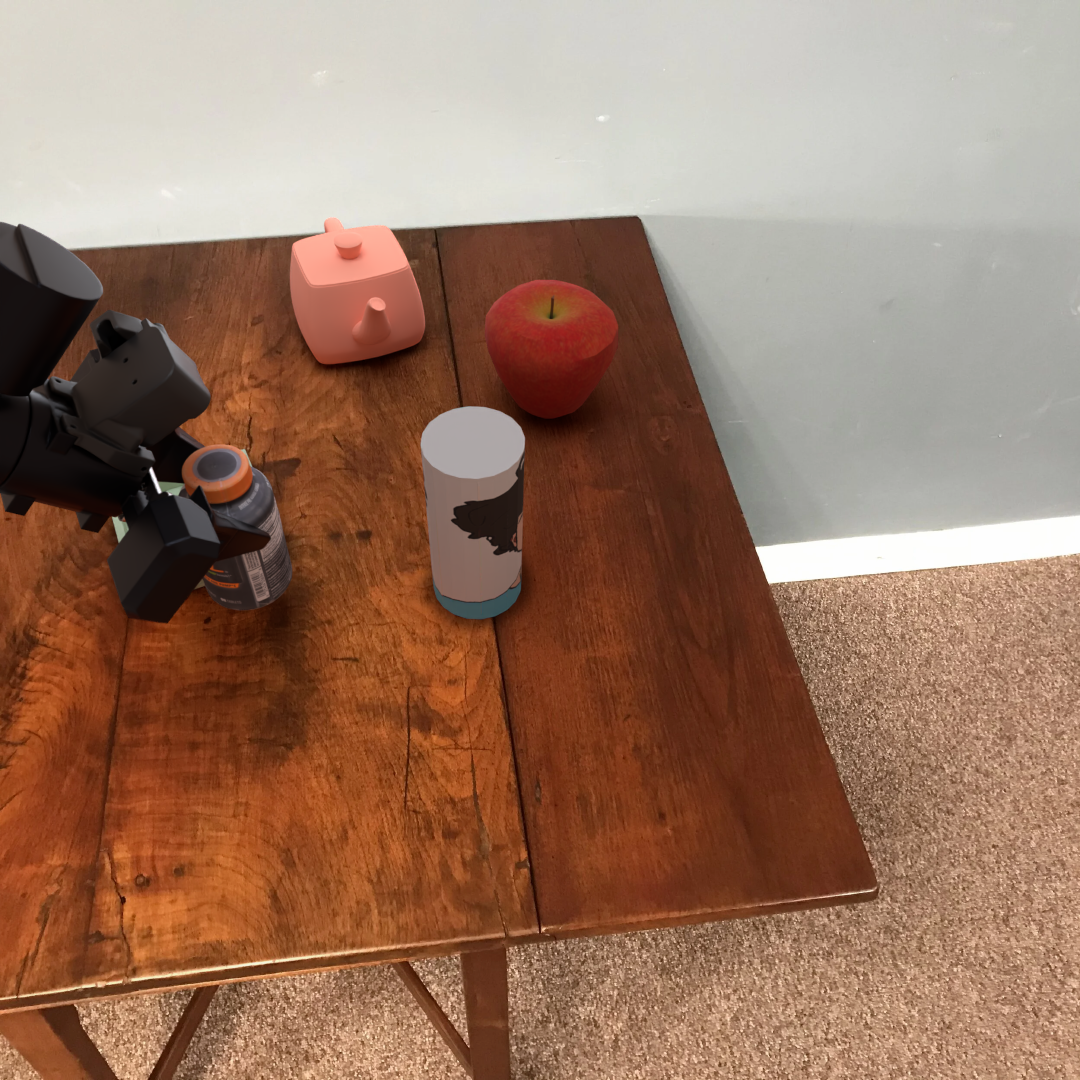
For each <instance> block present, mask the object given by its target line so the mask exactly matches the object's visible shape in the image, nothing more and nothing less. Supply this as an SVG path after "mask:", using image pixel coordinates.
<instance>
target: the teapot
mask: <svg viewBox="0 0 1080 1080" xmlns="http://www.w3.org/2000/svg"><path fill="white" fill-rule="evenodd" d="M323 229H324V233H320V234H316V235H312V236H307V237H304V238H301V239H299V240H297V241H295V242H293V244H292V246H291V254H290V265H289V266H290V267H289V268H290V269H289V289H290V297H291V303H292V308H293V312H294V315H295V319H296V322H297V325H298V328H299V330H300V332H301V335H302V337H303V339H304V341H305V343H306V345H307V346H308V348H309V350H310V351H311V353H312V355H313V357H314V358H315V359H316V361H317V362H318V363H320V364H322V365H323V364H324V365H335V364H345V363H351V362H359V361H363V360H369V359H374V358H378V357H382V356H386V355H390V354H393V353H395V352H399V351H402V350H405V349H407V348H410V347H413V346H416V345H417V344H419V343H420V342H421V341H422V338H423V336H424V333H425V330H426V317H425V310H424V304H423V301H422V296H421V293H420V290H419V286H418V284H417V281H416V278H415V276H414V273H413V270H412V268H411V265H410V262H409V260H408V257H407V256H406V254H405V252H404V250H403V248H402V247H401V245H400V243H399V241H398V240H397V238H396V236H395V234H394V233H393V231H392V230H391V229H390V228H389V227H388V226H386V225H381V224H377V225H376V224H374V225H366V226H365V225H363V226H357V227H350V228H344V225H343V223H342V222H341V220H340V219H339V218H337V217H334V216H333V217H332V216H331V217H330V216H329V217H327V218H326V219H325V220H324V222H323Z"/></svg>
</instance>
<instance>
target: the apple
mask: <svg viewBox="0 0 1080 1080" xmlns="http://www.w3.org/2000/svg"><path fill="white" fill-rule="evenodd" d="M484 319H485V320H484V321H485V322H484V339H485V343H486V348H487V353H488V355H489V357H490V360H491V361H492V364H493V366H494V369H495V371H496V373H497V376H498V378H499V379H500V380H501V382H502V384H503V385H504V387H505V388H506V390H507V392H508V393H509V395H510V396H511V398H512V399H513V401H514V402H515V404H516V405H517V406H518V407H519V408H520V409H521V410H523V411H525V412H526V413H528V414H530V415H533V416H534V417H538V418H541V419H544V420H550V419H552V420H553V419H556V418H557V419H558V418H561V417H563V416H567V415H569V414H572V413H574V412H576V411H577V410H578V409H580V407H582V406H584V404H585V402H586V401H587V399H588V398H589V397H590V395H592V393H593V392H594V390H595V389H596V387H598V385H599V383H600V381H601V380H602V378H603V377H604V375H605V373H606V372H607V370H608V368H609V367H610V366H611V364H612V362H613V360H614V357H615V355H616V353H617V350H618V348H619V328H620V327H619V324H618V321H617V319H616V316H615V312H614V311H613V310H612V309H611V308H610V307H609V306H608V305H607V304H606V303H605V302H604V301H602V300H601V298H599V297H598V296H597V295H596V294H595V293H593V292H592V291H591V290H589V289H587V288H585V287H582V286H580V285H577V284H575V283H570V282H566V281H562V280H558V279H533V280H531V281H528V282H524V283H521V284H518V285H517V286H515V287H514V288H512V289H510V290H509V291H507V292H505V293H504V294H503V295H501V296H500V297H499V298H498V299H496V300H495V301H494V302H493V303H492V305H491V307H490V309H489V310H488V312H487V313H486V315H485V318H484Z"/></svg>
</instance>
